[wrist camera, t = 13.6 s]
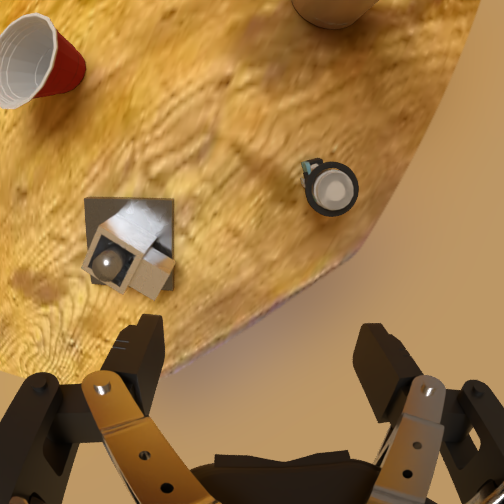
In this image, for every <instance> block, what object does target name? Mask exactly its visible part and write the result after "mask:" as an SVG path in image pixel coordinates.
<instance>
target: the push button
mask: <svg viewBox="0 0 504 504" xmlns="http://www.w3.org/2000/svg"><path fill="white" fill-rule="evenodd" d="M301 165H302V167H303V171H304V173H303V174H304V178H305V179H302V178H300V179H301V183H302V186H303V187H304V188H305V194H306V198H307V200H308V202H309V204H310V206H311V207H312V208H313V209H314V210H315V211H316V212H318V213H320V214H322V215H324V216H329V217H334V216H339V215H342V214H344V213H346V212H347V211H349V210H350V209H351V208H352V206H353V205H354V204H355V202H356V200H357V197H358V192H359V186H358V181H357V178H356V176H355V174H354V173H353V171H352V170H351V169H350V168H349V167H347V166H346V165H344V164H341V163H338V162H326V163H323V160H322V159H320V158H315V159H311V160H308V161H304V162H301ZM329 168H337V169H339V170H330V169H329Z"/></svg>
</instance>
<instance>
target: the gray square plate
mask: <svg viewBox="0 0 504 504" xmlns="http://www.w3.org/2000/svg"><path fill="white" fill-rule="evenodd" d="M84 204H85V222H86V236H87V247H88V250H89V247H90V245H91V242H92V240H93V238H94V235H95V233H96V231H97V229H98V226H99V225H100V224H102V223H103V222H105V221H106V220H108V219H109V218H111V217H112V216H114V215H115V214H117V213H119V214H120V215H122V216H123V217H125V218H127V219H128V220H130V221H132V222H133V223H135V224H136V225H138V226H140V227H141V228H143V229H145V230H146V231H148V232H149V233H151V234H153V235H154V236H156V237H157V238H156V240H155V242H154V244H153V246H152V248H154V249H156V250H157V251H159V252H161V253H162V254H164V255H166V256H167V257H169V258H171V259H172V260H174V256H173V213H174V199H166V198H129V197H86V198H84ZM135 256H136V255H134V254H133V253H131V252H129V251H128V250H126V249H125V248H123V247H121V246H120V245H118V244H116V243H115V242H113V241H112V240H110V242H109V245H108V247H107V248H106V249H105V250H104V251H103V252H102V253H101V254H99V255H98V256H97V257H96V258H95V259H94V260H93V263H92V271H93V273H94V275H95V276H96V277H97V278H98V279H99V280H98V279H97V278H95V277H94V276H92V275H91V274H90V275H91V282H92V284H101V285H106V284H105V283H103V282H110V281H112V280H113V279H114V278H115V277H116V276H117V274H118V273H119V272H120V271H121V270H122V268H123V267H124V266H125V265H126V264H127V263H129V264H130V265H131V264H132V262H133V260H134V258H135ZM100 280H101V281H100ZM102 281H103V282H102ZM129 287H130V286H129ZM173 289H174V267H173V269H172V271H171V273H170V275H169V277H168V278H167V280H166V282H165V284H164V285H163V287H162V289H161V290H170V291H173Z"/></svg>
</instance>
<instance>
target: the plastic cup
mask: <svg viewBox="0 0 504 504" xmlns="http://www.w3.org/2000/svg"><path fill="white" fill-rule="evenodd" d="M85 70H86V66H85V61H84V59H83V57H82V55H81V54H80V53H79V52H78V51H77V50H76V49H75V47H74V46H73V45H72V44H71V43H70V42H69V41H67V40H66V39H65V38H64V37H63V36H62V35H61V34H60V33H59V32H58V30H56V29H55V27H54V25H53V23H52V22H51V20H50V19H49V18H48V17H46V16H44V15H41V14H39V13H33V14H27V15H23V16H21V17H20V18H18V19H17V20H15V21H14V22H12V23H11V24H9V26H8V27H7V28H6V29H5V30H4V31H3V33H2V34H1V35H0V107H1V108H2V109H16V108H18V107H19V106H21V105H23V104H25V103H27V102H29V101H31V100H32V99H33V98H39V97H44V96H50V95H55V94H60V93H65V92H68V91H70V90H73V89H74V88H75V87H76V86H78V85H79V84H80V82H81V80H82V79H83V77H84V74H85Z"/></svg>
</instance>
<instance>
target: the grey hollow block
mask: <svg viewBox="0 0 504 504" xmlns="http://www.w3.org/2000/svg"><path fill="white" fill-rule="evenodd" d="M156 238H157V237H156V236H154V235H153V234H151V233H149V232H148V231H146V230H145V229H143V228H141V227H140V226H138V225H136V224H135V223H133V222H132V221H130V220H128V219H127V218H125V217H123V216H122V215H120V214H119V213H117V214H115V215H114V216H112V217H111V218H109V219H108V220H106V221H105V222H103V223H102V224H100V225H99V226H98V229H97V231H96V233H95V235H94V238H93V240H92V242H91V245H90V247H89V250H88V252H87V255H86V257H85V259H84V262H83V265H82V267H81V269H83V270H84V271H86V272H87V273H89V274H91V275H92V276H94V277H95V278H97V277H96V276H95V275H94V273H93V271H92V263H93V260H94V259H95V258H96V257H97V256H98V255H99V254H101V253H102V252H103V251H104V250H105V249H106V248H107V247H108V245H109V242H110V240H112V241H113V242H115V243H116V244H118V245H120V246H121V247H123V248H125V249H126V250H128V251H129V252H131V253H133V254H134V255H136V256H135V258H134V260H133V262H132V264H131V265H130V264H129V263H127V264H126V265H125V266H124V267H123V268H122V270H121V271H120V272H119V273H118V274H117V276H116V277H115V278H114V279H113V280H112V281H110V282H103V281H102V282H103V283H105V284H106V285H108V286H109V287H111V288H113V289H114V290H116V291H118V292H119V293H121V294H124V293H125V291H126V290H127V288H128V287H129V286H130V287H132V288H133V289H135V290H137V291H138V292H140V293H142V294H143V295H145V296H147V297H149V298H150V299H152V300H154V301H155V299H156V298H157V296H158V294H159V292H160V291H161V289H162V287H163V285H164V284H165V282H166V280H167V278H168V277H169V275H170V273H171V271H172V269H173V267H174V265H175V263H176V261H174V260H172V259H171V258H169V257H167V256H166V255H164V254H162V253H161V252H159V251H157V250H156V249H154V248H152V246H153V244H154V242H155V240H156ZM97 279H98V278H97ZM98 280H99V279H98ZM100 281H101V280H100Z"/></svg>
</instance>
